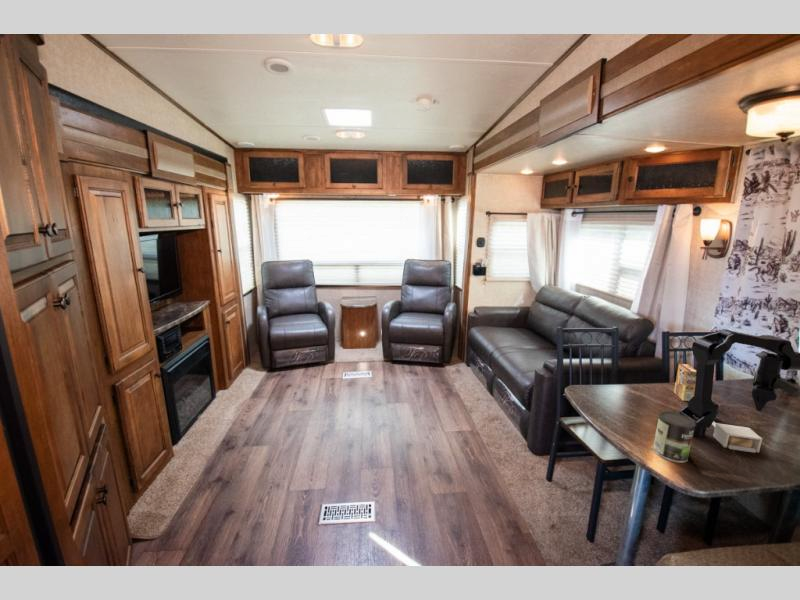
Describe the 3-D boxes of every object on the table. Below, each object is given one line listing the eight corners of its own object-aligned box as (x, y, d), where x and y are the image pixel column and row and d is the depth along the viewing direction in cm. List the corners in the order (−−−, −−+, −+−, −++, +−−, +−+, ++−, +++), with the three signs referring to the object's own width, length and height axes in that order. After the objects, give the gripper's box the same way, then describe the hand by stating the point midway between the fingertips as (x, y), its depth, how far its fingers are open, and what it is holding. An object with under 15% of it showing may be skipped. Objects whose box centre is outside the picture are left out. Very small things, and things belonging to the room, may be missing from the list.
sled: (729, 450, 125) (731, 438, 124) (695, 416, 147) (697, 406, 146) (754, 454, 123) (758, 442, 122) (716, 419, 145) (718, 408, 144)
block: (730, 447, 125) (732, 437, 125) (720, 437, 131) (722, 428, 130) (750, 450, 124) (752, 440, 123) (739, 440, 129) (742, 430, 129)
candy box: (692, 402, 160) (699, 371, 157) (682, 400, 161) (688, 370, 158) (682, 393, 168) (688, 364, 165) (672, 392, 169) (678, 363, 166)
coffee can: (694, 458, 121) (702, 423, 118) (677, 466, 117) (684, 429, 114) (663, 441, 131) (669, 408, 127) (646, 448, 127) (652, 414, 123)
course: (738, 465, 118) (742, 447, 116) (700, 426, 140) (704, 412, 139) (775, 471, 115) (780, 453, 114) (731, 431, 137) (734, 416, 136)
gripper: (803, 384, 116) (791, 424, 120) (800, 369, 129) (789, 406, 132) (756, 373, 124) (746, 412, 127) (758, 360, 137) (749, 396, 140)
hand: (759, 406), depth 131 cm, fingers open, 9 cm apart
